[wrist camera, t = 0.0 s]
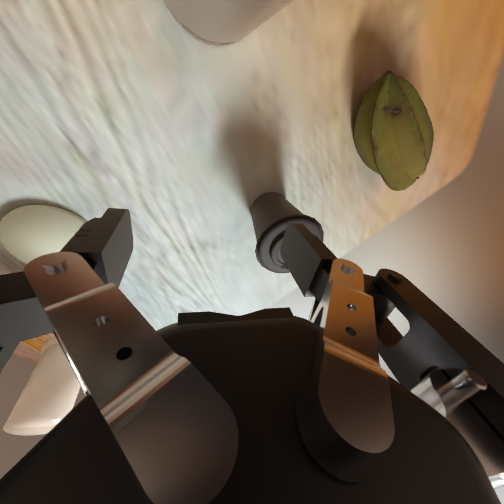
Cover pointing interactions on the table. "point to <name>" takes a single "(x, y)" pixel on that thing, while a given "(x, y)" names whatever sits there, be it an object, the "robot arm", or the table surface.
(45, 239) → the coaster
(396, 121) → the fruit
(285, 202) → the coffee cup
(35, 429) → the cream white cylinder
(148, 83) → the table surface
